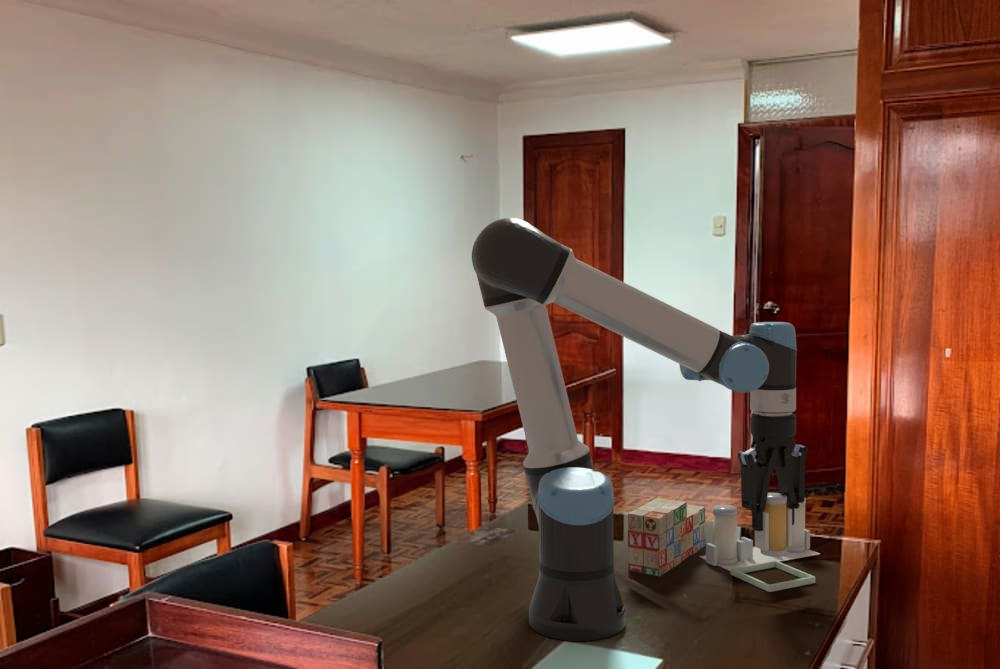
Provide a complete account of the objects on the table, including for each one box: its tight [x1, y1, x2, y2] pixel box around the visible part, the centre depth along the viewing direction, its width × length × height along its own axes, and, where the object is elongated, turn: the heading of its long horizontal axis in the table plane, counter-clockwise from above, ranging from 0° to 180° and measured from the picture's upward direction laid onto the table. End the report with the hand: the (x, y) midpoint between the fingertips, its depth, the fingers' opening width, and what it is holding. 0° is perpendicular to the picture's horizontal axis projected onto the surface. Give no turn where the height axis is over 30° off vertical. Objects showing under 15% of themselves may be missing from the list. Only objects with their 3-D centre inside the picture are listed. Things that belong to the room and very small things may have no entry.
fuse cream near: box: [711, 504, 738, 565], centre depth 168 cm, size 4×4×10 cm
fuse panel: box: [698, 528, 820, 572], centre depth 171 cm, size 22×9×5 cm, turn 114°
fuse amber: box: [760, 492, 787, 557], centre depth 158 cm, size 4×4×10 cm
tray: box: [729, 560, 816, 593], centre depth 159 cm, size 10×10×2 cm
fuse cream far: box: [787, 497, 807, 553], centre depth 174 cm, size 4×4×10 cm
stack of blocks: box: [627, 497, 707, 581], centre depth 171 cm, size 21×6×12 cm, turn 145°
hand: (773, 546), depth 158 cm, fingers closed on fuse amber, 4 cm apart
